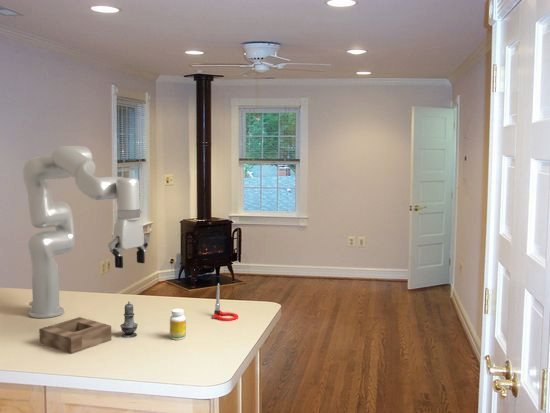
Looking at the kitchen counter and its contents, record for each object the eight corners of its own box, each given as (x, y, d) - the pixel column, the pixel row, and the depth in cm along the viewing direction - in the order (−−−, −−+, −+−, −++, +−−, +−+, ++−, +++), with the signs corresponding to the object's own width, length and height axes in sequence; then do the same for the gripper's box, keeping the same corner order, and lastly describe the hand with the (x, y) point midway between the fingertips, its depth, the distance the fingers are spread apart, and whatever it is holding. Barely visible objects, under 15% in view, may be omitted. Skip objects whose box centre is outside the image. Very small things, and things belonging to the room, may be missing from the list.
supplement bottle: (167, 336, 205) (167, 309, 204) (183, 334, 208) (183, 307, 207) (172, 341, 201) (172, 313, 200) (187, 339, 203) (187, 311, 202)
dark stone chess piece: (133, 338, 202) (133, 304, 201) (117, 337, 203) (116, 302, 202) (140, 333, 208) (140, 299, 207) (125, 331, 209) (124, 298, 208)
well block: (39, 343, 196) (39, 328, 195) (79, 331, 209) (79, 317, 209) (71, 353, 187) (71, 338, 187) (111, 340, 200) (111, 325, 200)
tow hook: (241, 317, 230) (219, 313, 233) (243, 284, 229) (221, 281, 232) (232, 323, 223) (210, 319, 226) (234, 289, 221) (211, 286, 224)
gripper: (139, 211, 210) (141, 260, 211) (100, 216, 195) (102, 268, 197) (155, 212, 205) (156, 262, 207) (116, 217, 191) (118, 270, 193)
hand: (130, 265), depth 202 cm, fingers open, 9 cm apart
